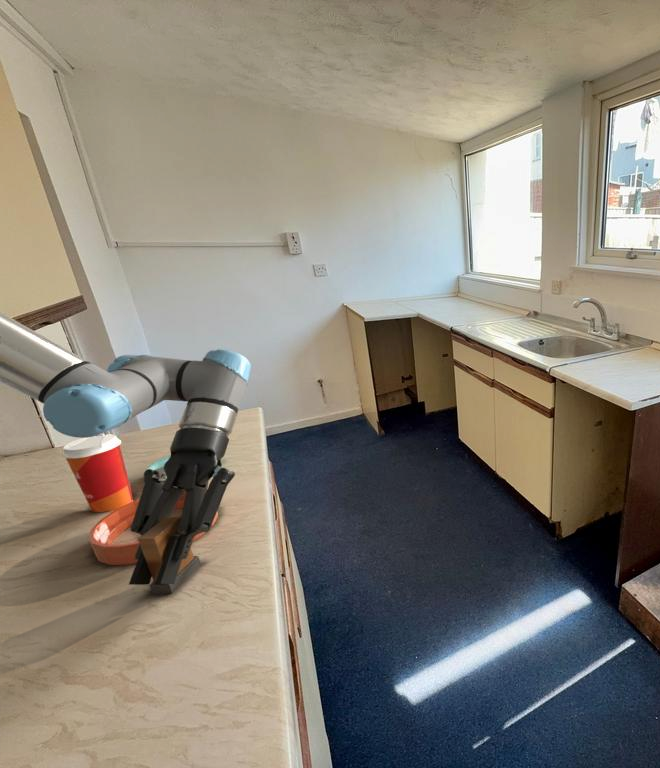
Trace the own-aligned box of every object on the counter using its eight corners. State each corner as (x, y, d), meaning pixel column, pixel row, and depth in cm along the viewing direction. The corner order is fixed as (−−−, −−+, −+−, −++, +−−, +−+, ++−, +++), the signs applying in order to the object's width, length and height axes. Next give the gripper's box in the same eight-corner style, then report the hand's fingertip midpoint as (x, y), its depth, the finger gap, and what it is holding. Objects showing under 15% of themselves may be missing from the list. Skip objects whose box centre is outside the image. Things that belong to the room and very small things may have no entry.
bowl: (67, 570, 66) (57, 547, 64) (153, 507, 82) (147, 488, 81) (173, 567, 66) (166, 545, 65) (238, 505, 82) (233, 487, 81)
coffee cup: (100, 500, 84) (76, 436, 80) (147, 492, 87) (127, 430, 82) (75, 523, 77) (47, 454, 72) (128, 514, 80) (104, 447, 75)
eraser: (172, 595, 60) (153, 540, 57) (152, 595, 60) (132, 541, 57) (201, 565, 66) (185, 514, 63) (183, 566, 66) (166, 515, 63)
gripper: (263, 439, 72) (223, 582, 62) (173, 441, 72) (118, 585, 61) (238, 424, 66) (189, 582, 55) (139, 426, 65) (70, 585, 55)
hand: (152, 583), depth 58 cm, fingers closed on eraser, 3 cm apart
